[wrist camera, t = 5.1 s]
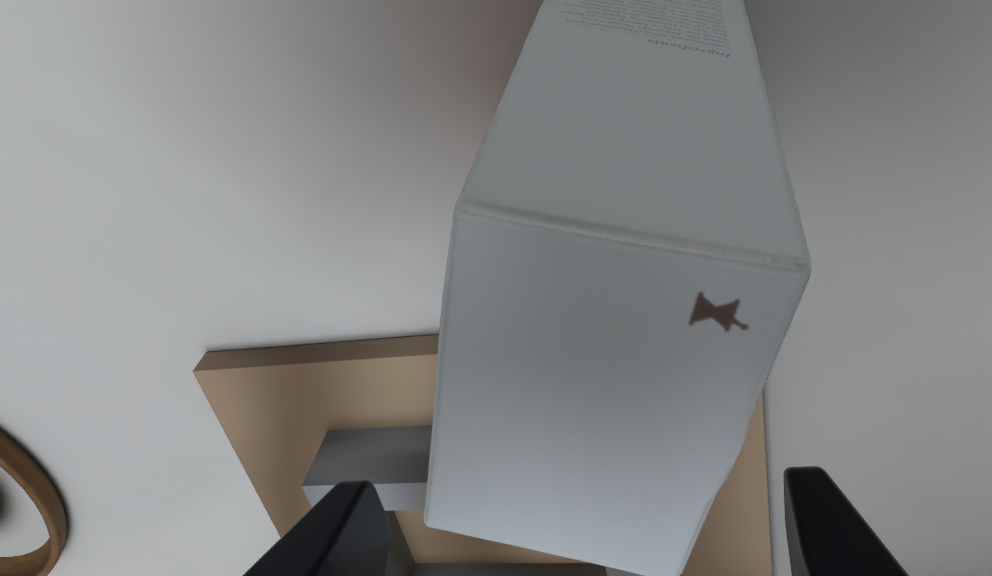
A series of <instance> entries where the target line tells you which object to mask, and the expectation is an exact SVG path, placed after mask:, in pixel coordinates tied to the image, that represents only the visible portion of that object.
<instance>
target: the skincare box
mask: <svg viewBox="0 0 992 576" xmlns="http://www.w3.org/2000/svg"><path fill="white" fill-rule="evenodd" d="M810 274H811V261H810V256H809V251H808V247H807V243H806V239H805V235H804V231H803V228H802V224H801V219H800V215H799V211H798V206H797V203H796V199H795V195H794V191H793V188H792V184H791V180H790V177H789V173H788V170H787V166H786V162H785V159H784V155H783V152H782V148H781V144H780V140H779V137H778V133H777V128H776V124H775V121H774V116H773V112H772V109H771V105H770V101H769V98H768V94H767V90H766V86H765V82H764V79H763V75H762V71H761V67H760V64H759V60H758V55H757V51H756V47H755V43H754V39H753V35H752V32H751V27H750V23H749V19H748V16H747V12H746V8H745V4H744V1H743V0H543V3H542V5H541V7H540V9H539V11H538V14H537V16H536V18H535V21H534V23H533V25H532V27H531V29H530V31H529V34H528V36H527V38H526V41H525V43H524V46H523V48H522V51H521V53H520V55H519V57H518V60H517V62H516V65H515V67H514V69H513V72H512V74H511V76H510V79H509V81H508V83H507V86H506V88H505V90H504V93H503V95H502V98H501V100H500V102H499V105H498V107H497V109H496V111H495V114H494V117H493V119H492V121H491V123H490V125H489V127H488V130H487V132H486V134H485V137H484V139H483V142H482V144H481V146H480V149H479V151H478V153H477V156H476V158H475V160H474V163H473V165H472V167H471V170H470V172H469V174H468V177H467V180H466V182H465V185H464V187H463V189H462V192H461V194H460V196H459V198H458V200H457V203H456V205H455V208H454V213H453V221H452V230H451V238H450V245H449V253H448V260H447V267H446V275H445V282H444V290H443V299H442V309H441V319H440V328H439V339H438V356H437V374H436V389H435V404H434V415H433V425H432V436H431V446H430V458H429V469H428V479H427V490H426V502H425V509H424V523H425V524H426V526H428V527H430V528H435V529H440V530H445V531H450V532H454V533H459V534H463V535H467V536H472V537H476V538H481V539H485V540H490V541H494V542H499V543H504V544H509V545H513V546H518V547H522V548H527V549H531V550H536V551H540V552H545V553H549V554H553V555H558V556H562V557H566V558H571V559H575V560H580V561H584V562H589V563H593V564H597V565H602V566H606V567H610V568H615V569H619V570H623V571H627V572H631V573H636V574H640V575H644V576H680V575H681V574H682V572H683V570H684V568H685V565H686V563H687V561H688V558H689V556H690V554H691V551H692V549H693V547H694V544H695V542H696V540H697V537H698V535H699V533H700V530H701V528H702V526H703V524H704V522H705V519H706V517H707V515H708V512H709V510H710V508H711V505H712V503H713V501H714V498H715V496H716V494H717V493H718V491H719V489H720V488H721V486H722V485H723V483H724V482H725V480H726V479H727V477H728V475H729V473H730V471H731V469H732V468H733V466H734V464H735V462H736V460H737V457H738V455H739V453H740V451H741V449H742V446H743V444H744V442H745V439H746V436H747V432H748V428H749V424H750V420H751V418H752V415H753V413H754V410H755V407H756V405H757V402H758V399H759V397H760V395H761V392H762V390H763V388H764V385H765V383H766V381H767V378H768V376H769V374H770V371H771V369H772V366H773V364H774V361H775V359H776V356H777V354H778V351H779V349H780V346H781V344H782V341H783V339H784V337H785V334H786V332H787V330H788V327H789V325H790V323H791V320H792V318H793V316H794V313H795V311H796V309H797V306H798V304H799V301H800V299H801V297H802V294H803V292H804V289H805V287H806V285H807V282H808V280H809V277H810Z"/></svg>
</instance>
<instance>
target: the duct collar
mask: <svg viewBox="0 0 992 576" xmlns="http://www.w3.org/2000/svg"><path fill="white" fill-rule="evenodd" d="M438 339H439V335H428V336H415V337H402V338H389V339H376V340H363V341H350V342H337V343H324V344H311V345H298V346H284V347H271V348H258V349H245V350H232V351H219V352H206V353H205V355H204V356H203V358H202V359H201V360H200V362H199V363H198V365H197V366H196V367H195V369H194V370H193V373H194V375H195V377H196V379H197V381H198V382H199V384H200V386H201V388H202V390H203V392H204V394H205V396H206V398H207V399H208V401H209V403H210V405H211V407H212V409H213V411H214V413H215V415H216V416H217V418H218V420H219V422H220V424H221V426H222V428H223V430H224V431H225V433H226V435H227V437H228V439H229V441H230V443H231V445H232V447H233V448H234V450H235V452H236V454H237V456H238V458H239V460H240V462H241V463H242V465H243V467H244V469H245V471H246V473H247V475H248V477H249V479H250V480H251V482H252V484H253V486H254V488H255V490H256V492H257V494H258V496H259V497H260V499H261V501H262V503H263V505H264V507H265V509H266V511H267V512H268V514H269V516H270V518H271V520H272V522H273V524H274V526H275V528H276V529H277V531H278V533H279V535H280V537H281V538H282V537H283V536H284V535H285V534H286V533H287V532H288V531H289V530H290V529H291V528H292V527H293V526H294V525H295V524H296V523H297V522H298V521H299V520H300V519H301V518H302V517H303V516H304V515H305V514H306V513H307V512H308V511H309V510H310V509H311V508H312V507H313V506H314V505H315V504H316V503H317V502H318V501H319V500H321V499H322V498H323V497H324V496H325V495H326V494H327V493H328V492H329V491H330V490H331V489H332V488H333V487H334V486H335V485H336V484H337V483H339V482H341V481H344V480H369V481H370V482H372V483H373V484H374V486H375V488H376V491H377V493H378V495H379V498H380V500H381V503H382V505H383V507H384V510H385V512H386V515H387V517H388V519H389V523H390V529H391V539H390V546H389V552H388V558H387V565H386V571H385V576H644V575H640V574H636V573H631V572H627V571H623V570H619V569H615V568H610V567H606V566H602V565H597V564H593V563H589V562H584V561H580V560H575V559H571V558H566V557H562V556H558V555H553V554H549V553H545V552H540V551H536V550H531V549H527V548H522V547H518V546H513V545H509V544H504V543H499V542H494V541H490V540H485V539H481V538H476V537H472V536H467V535H463V534H459V533H454V532H450V531H445V530H440V529H435V528H430V527H428V526H426V524H425V523H424V509H425V502H426V490H427V479H428V469H429V458H430V446H431V436H432V425H433V415H434V404H435V389H436V374H437V356H438ZM680 576H772V565H771V546H770V527H769V509H768V490H767V472H766V453H765V434H764V416H763V397H762V392H761V395H760V397H759V399H758V402H757V405H756V407H755V410H754V413H753V415H752V418H751V420H750V424H749V428H748V432H747V436H746V439H745V442H744V444H743V446H742V449H741V451H740V453H739V455H738V457H737V460H736V462H735V464H734V466H733V468H732V469H731V471H730V473H729V475H728V477H727V479H726V480H725V482H724V483H723V485H722V486H721V488H720V489H719V491H718V493H717V494H716V496H715V498H714V501H713V503H712V505H711V508H710V510H709V512H708V515H707V517H706V519H705V522H704V524H703V526H702V528H701V530H700V533H699V535H698V537H697V540H696V542H695V544H694V547H693V549H692V551H691V554H690V556H689V558H688V561H687V563H686V565H685V568H684V570H683V572H682V574H681V575H680Z"/></svg>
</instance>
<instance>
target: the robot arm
mask: <svg viewBox="0 0 992 576" xmlns="http://www.w3.org/2000/svg"><path fill="white" fill-rule="evenodd" d="M784 502H785V523H786V533H787V541H788V548H789V556H790V564H791V572H792V576H909V575H908V574H907V573H906V571H905V570H904V569H903V568H902V566H901V565H900V564H899V563H898V561H897V560H896V559H895V558H894V556H893V555H892V554H891V553H890V551H889V550H888V549H887V548H886V546H885V545H884V544H883V543H882V541H881V540H880V539H879V538H878V536H877V535H876V534H875V533H874V531H873V530H872V529H871V528H870V526H869V525H868V524H867V523H866V521H865V520H864V519H863V518H862V516H861V515H860V514H859V512H858V511H857V510H856V509H855V507H854V506H853V505H852V504H851V502H850V501H849V500H848V499H847V497H846V496H845V495H844V494H843V492H842V491H841V490H840V489H839V487H838V486H837V485H836V484H835V482H834V481H833V480H832V479H831V477H830V476H829V475H828V474H827V472H826V471H825V470H824V469H822V468H820V467H817V466H810V467H789V468H787V469H786V470H785V471H784ZM390 539H391V529H390V523H389V519H388V517H387V515H386V512H385V510H384V507H383V505H382V503H381V500H380V498H379V495H378V493H377V491H376V488H375V486H374V484H373V483H372V482H370V481H369V480H344V481H341V482H339V483H337V484H336V485H335V486H334V487H333V488H332V489H331V490H330V491H329V492H328V493H327V494H326V495H325V496H324V497H323V498H322V499H321V500H319V501H318V502H317V503H316V504H315V505H314V506H313V507H312V508H311V509H310V510H309V511H308V512H307V513H306V514H305V515H304V516H303V517H302V518H301V519H300V520H299V521H298V522H297V523H296V524H295V525H294V526H293V527H292V528H291V529H290V530H289V531H288V532H287V533H286V534H285V535H284V536H283V537H282V538H281V539H280V540H279V541H278V542H277V543H275V544H274V545H273V546H272V547H271V548H270V549H269V550H268V551H267V552H266V553H265V554H264V555H263V556H262V557H261V558H260V559H259V560H258V561H257V562H256V563H255V564H254V565H253V566H252V567H251V568H250V569H249V570H248V571H247V572H246V573H245V574H244V575H243V576H385V571H386V565H387V558H388V552H389V546H390Z"/></svg>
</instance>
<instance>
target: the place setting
mask: <svg viewBox="0 0 992 576" xmlns="http://www.w3.org/2000/svg"><path fill="white" fill-rule="evenodd" d="M0 466H1V467H2V468H3V469H4V470H5V471H6V472H7V473H8V474H9V475H11V476H12V477H13V478H14V479H15V481H16V482H17V483H18V484H19V485H20V486H21V487H22V488H23V489H24V490H25V492H26V493H27V494H28V495H29V497H30V498H31V499H32V501H33V502H34V503H35V505H36V507H37V508H38V510H39V511H40V513H41V515H42V517H43V519H44V521H45V524H46V526H47V529H48V532H49V536H50V538H49V539H48V541H47V542H46V543H45V544H44V545H43V546H42V547H40V548H39V549H37V550H35V551H33V552H31V553H28V554H25V555H21V556H14V557H0V576H47V575H48V574H49V573H50V571H51V570H52V569H53V568H54V566H55V565H56V563H57V561H58V559H59V557H60V555H61V553H62V551H63V548H64V545H65V540H66V534H67V529H66V517H65V513H64V509H63V505H62V502H61V500H60V498H59V495H58V493H57V491H56V489H55V488H54V486H53V484H52V483H51V481H50V480H49V478H48V477H47V475H46V474H45V473H44V471H43V470H42V469H41V468H40V466H39V465H38V464H37V463H36V462H35V461H34V460H33V459H32V458H31V457H30V455H28V454H27V453H26V452H25V451H24V450H23V449H22V448H21V447H20V446H19V445H18V444H17V443H15V442H14V441H13V440H12V439H10V438H9V437H8V436H7V435H5V434H4V433H3V432H2V431H0Z"/></svg>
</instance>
